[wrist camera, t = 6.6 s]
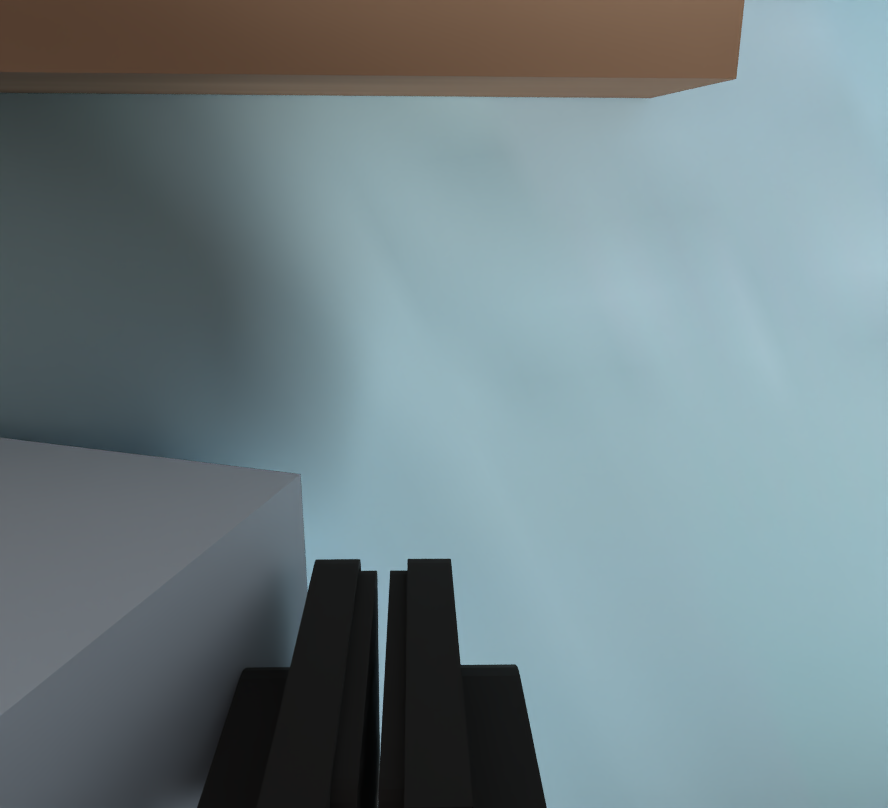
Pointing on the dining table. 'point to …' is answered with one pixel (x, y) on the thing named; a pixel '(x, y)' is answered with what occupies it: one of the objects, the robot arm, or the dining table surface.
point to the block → (134, 617)
